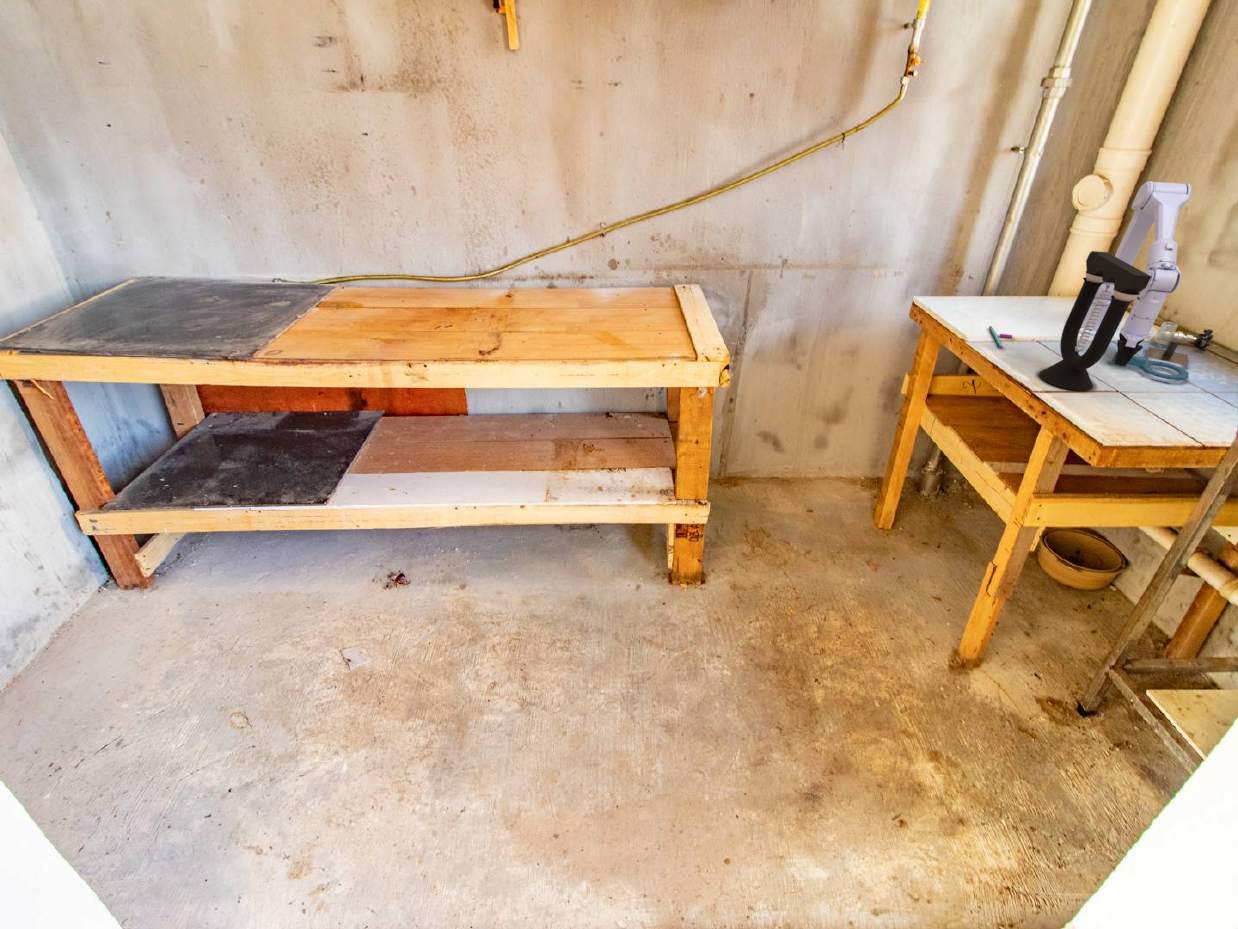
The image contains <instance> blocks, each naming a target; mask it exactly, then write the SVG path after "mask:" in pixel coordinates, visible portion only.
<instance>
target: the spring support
mask: <svg viewBox="0 0 1238 929" xmlns="http://www.w3.org/2000/svg"><path fill="white" fill-rule="evenodd" d="M1085 263H1086V264H1085V267H1086V271H1085V277H1082V279H1083V283H1082V286H1081V287H1080V290H1079V292H1078V294H1077V296H1076V299H1075V301H1074V303H1073V305H1072V308H1071V310H1070V312H1069V315H1068V317H1067V319H1066V321H1065V323H1064V326H1063V329H1062V332H1061V336H1060V355H1061V358H1062V359H1061V360H1059V361H1057V362H1055V363H1054V364H1052V365H1050V366H1048V367H1046V368H1045V369H1042V370H1041V371H1039V374H1038V375H1039V377H1040V378H1041V379H1042V380H1044V381H1045V382H1047V383H1049V384H1052V385H1054V386H1055V387H1060V388H1063V389H1065V390H1066V389H1067V390H1072V391H1090V390H1092V389H1093V388H1094V384H1093V382H1092V379H1091V377H1090V374H1089V372H1088V369H1090V368H1091V367H1093V366H1094V365H1096V364H1097V363H1098V362H1099V361H1100V360H1101V359H1102V358H1103V357H1104V355H1105V353H1106V352H1107V350H1108V348H1109V346H1110V344H1111V343H1112V340H1113V338H1114V336H1115V334H1116V333H1117V331H1118V328H1119V326H1120V325H1121V322H1122V320H1123V318H1124V316H1125V314H1126V312H1127V310H1128V308H1129V306H1130V304H1131V303H1132V302H1134V300H1136V299H1137V297H1138V295H1140V293H1139V292H1141V291H1142V290H1144V289H1145V288H1146V286H1147V284H1148V282H1149V280H1150V278H1151V276H1149V275H1148V274H1146V273H1145V271H1142V270H1140V269H1139V268H1137V267H1135V266H1133V265H1132V266H1131V265H1129V264H1128V263H1126V262H1124V261H1122V260H1120V259H1119V258H1117V257H1115V255H1114V254H1111V253H1110V252H1107V251H1096V250H1092V251H1090V252H1089V253H1088V256H1087V257H1086V260H1085ZM1104 282H1109V283H1114V295H1112V296H1111V299H1112V300H1111V302H1110V305H1109V307H1108V309H1107V311H1106V313H1105V315H1104V317H1103V319H1102V322H1101V324H1100V326H1099V328H1098V330H1097V331H1095V335H1094V336H1093V338H1092V341H1091V342H1090V345H1089V347H1087V350H1086V351H1085V352H1084V353H1083V354H1082V355H1080V354H1079V352H1083V351H1084V348H1086V346H1085V345H1087V342H1089V338H1091V337H1090V335H1092V332H1094V331H1093V330H1092V329H1088V328H1086V327H1092V328H1094V326H1091V325H1088V323H1091V324H1096V323H1094V322H1091V321H1089V320H1094V321H1098V320H1097V319H1093V318H1091V317H1098V318H1099V316H1097V315H1093V313H1097V314H1101V313H1100V312H1096V311H1094V310H1100V311H1102V310H1103V309H1099V308H1097V307H1096V306H1100V307H1104V306H1103V305H1099V304H1098V303H1104V304H1106V302H1102V301H1100V300H1099V299H1103V300H1108V299H1107V298H1103V297H1101V296H1108V297H1109V295H1106V294H1103V293H1102V292H1108V293H1111V292H1110V291H1108V290H1107V288H1108V289H1109V287H1110V284H1109V285H1107V283H1106V289H1105V290H1106V291H1101V292H1100V293H1101V295H1099V298H1098V299H1097V301H1098V302H1096V305H1095V306H1094V309H1092V311H1093V312H1091V316H1089V318H1090V319H1088V322H1087V323H1086V325H1087V326H1085V327H1084V328H1085V329H1084V328H1081V326H1082V324H1083V321H1084V319H1085V317H1086V315H1087V313H1088V311H1089V309H1090V306H1091V304H1092V302H1093V300H1094V298H1095V296H1096V293H1097V291H1098V289H1099V287H1100V286H1101V285H1102V284H1103V283H1104ZM1081 329H1083V330H1082V332H1081V335H1080V336H1079V333H1080V330H1081ZM1078 337H1079V338H1078ZM1081 344H1082V345H1081ZM1078 347H1080V348H1081V349H1078Z"/></svg>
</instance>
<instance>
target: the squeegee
mask: <svg viewBox="0 0 1238 929" xmlns="http://www.w3.org/2000/svg"><path fill="white" fill-rule="evenodd" d="M988 328H989V331H990V333H991V335H992V337H993V339H994V340H995V342H996V344H997V346H998V348H999V349H1002V348H1003V345H1002V343H1001V340H1000V339H999V337H1000V338H1009V339H1012V338H1013V334H1007V333H1006V334H1005V333H999V337H998V333H997V332H995V329H994V328H993V326H991V325H989V327H988Z"/></svg>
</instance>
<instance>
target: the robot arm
mask: <svg viewBox="0 0 1238 929" xmlns="http://www.w3.org/2000/svg"><path fill="white" fill-rule="evenodd" d="M1191 195H1192V186H1191V184H1190V183H1188V182H1185V183H1177V182H1164V181H1163V182H1161V181H1152V180H1147V181H1146V182H1145V183H1143V184H1142V185H1141V186H1140V187H1139V188H1138V191H1137V192H1136V195H1135V197H1134V200H1133V201H1132V205H1131V207H1130V209H1132V210H1134V211H1135V212H1134V214H1133V217H1132V219H1131V221H1130V223H1129V225H1128V227H1127V229H1126V231H1125V233H1124V236H1123V237H1122V240H1121V242H1120V244H1119V246H1118V249H1117V251H1116V253H1115V255H1114V256H1115V257H1117V258H1119V259H1120V260H1122V261H1124V262H1126V263H1128V264H1129V265H1131V266H1133V264H1134V262H1135V261H1136V259H1137V257H1138V255H1139V252H1140V251H1141V248H1142V246H1143V244H1144V242H1145V240H1146V238H1147V237H1148V235H1149V233H1150V231H1151V229H1152V227H1153V226H1154V227H1153V229H1154V242H1152V244H1150V245H1149V246H1148V249H1147V250H1148V251H1147V259H1146V269H1145V271H1144V273H1146V274H1148V275H1149V276H1151V278H1150V280H1149V282H1148V284H1147V286H1146V288H1145V289H1144V290H1142V291H1141V292H1139V293H1140V295H1138V296H1137V297H1136V298H1135V301H1134V303H1133V305H1132V307H1131V310H1130V312H1129V313H1128V315H1127V318H1126V320H1125V322H1124V324H1123V326H1122V327H1121V329H1120V330H1119V335H1118V336H1119V338H1118V339H1117V341H1116V347H1117V351H1116V352H1117V356H1116V360H1115V362H1114V365H1115V366H1120V367H1126V366H1127V363H1128V362H1129V361H1130V359H1131V358H1132V357H1133V356H1136V354H1138V353H1139V352H1141V351H1142V350H1143V348H1144V345H1141V343H1142V342H1144V341H1145V340H1146V339H1153V338H1154V334H1153V333H1150V332H1151V330H1152V328H1153V326H1154V324H1155V321H1156V320H1157V317H1158V315H1159V313H1160V311H1161V309H1162V308H1163V306H1164V304H1165V301H1166V299H1167V297H1168V296H1169V294H1172V293H1174V292H1175V291H1176V290H1177V288H1178V287H1179V284H1180V282H1181V278H1182V277H1181V276H1182V272H1181V270H1180V267H1179V265H1177V259H1178V248H1179V244H1178V243H1177V242H1176V241H1175V240H1174V235H1175V231H1176V227H1177V222H1178V217H1179V213H1180V212H1181V211H1182V210H1183V209H1184V208H1185V206H1186V205H1187V203H1188V202H1189V200H1190V198H1191ZM1106 283H1107V285H1109V284H1110V287H1109V289H1108V288H1107V290H1108V291H1110V292H1111V293H1108V292H1102V293H1103V294H1106V295H1109V297H1108V296H1101V297H1103V298H1107V299H1108V300H1103V299H1099V300H1100V301H1102V302H1106V304H1104V303H1098V304H1099V305H1103V306H1104V307H1100V306H1096V307H1097V308H1099V309H1103V310H1102V311H1100V310H1094V311H1096V312H1100V313H1101V314H1097V313H1093V315H1097V316H1099V318H1098V317H1091V318H1093V319H1097V320H1098V321H1094V320H1089V321H1091V322H1094V323H1096V324H1091V323H1088V325H1091V326H1094V328H1092V327H1086V328H1088V329H1092V330H1093V331H1092V332H1097V330H1098V328H1099V326H1100V324H1101V322H1102V319H1103V317H1104V315H1105V313H1106V311H1107V309H1108V307H1109V305H1110V302H1111V300H1112V299H1111V296H1112V295H1114V283H1109V282H1104V283H1103V284H1102V285H1101V286H1100V287H1099V289H1098V291H1097V293H1096V296H1095V298H1094V300H1093V302H1092V304H1091V306H1090V309H1089V311H1088V313H1087V315H1086V317H1085V319H1084V321H1083V324H1082V326H1081V328H1080V329H1085V328H1084V327H1085V326H1087V325H1086V323H1087V322H1088V319H1090V318H1089V316H1091V312H1093V311H1092V309H1094V306H1095V305H1096V302H1098V301H1097V299H1098V298H1099V295H1101V293H1100V292H1101V291H1106V290H1105V289H1106Z"/></svg>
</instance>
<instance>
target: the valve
mask: <svg viewBox="0 0 1238 929" xmlns="http://www.w3.org/2000/svg"><path fill="white" fill-rule="evenodd" d="M1178 328H1179V324H1177V323H1175V322H1171V321H1163V322H1162V323H1161V325H1160V327H1159V329H1158V330H1157V331H1156V333H1155V335H1154V337H1155V338H1154V339H1153V342H1155V343H1157V344H1160V345H1166V346H1168V344H1169V342H1170V340H1177V341H1179V343H1180V342H1181V341H1184V342H1187V343H1191V342H1192V341H1193V343H1194V346H1195V348H1197V349H1200V351H1201V352H1206V351H1207V347H1210V346H1211V344H1212V343H1211V340H1212V339H1213V338H1214V334H1212V333H1214V330H1213V329H1210V328H1208V329H1204V330H1203V333H1199V334H1198V335H1196V336H1194V335H1191V334H1186V335H1185V334H1184V332H1183V331H1177V329H1178Z"/></svg>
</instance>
